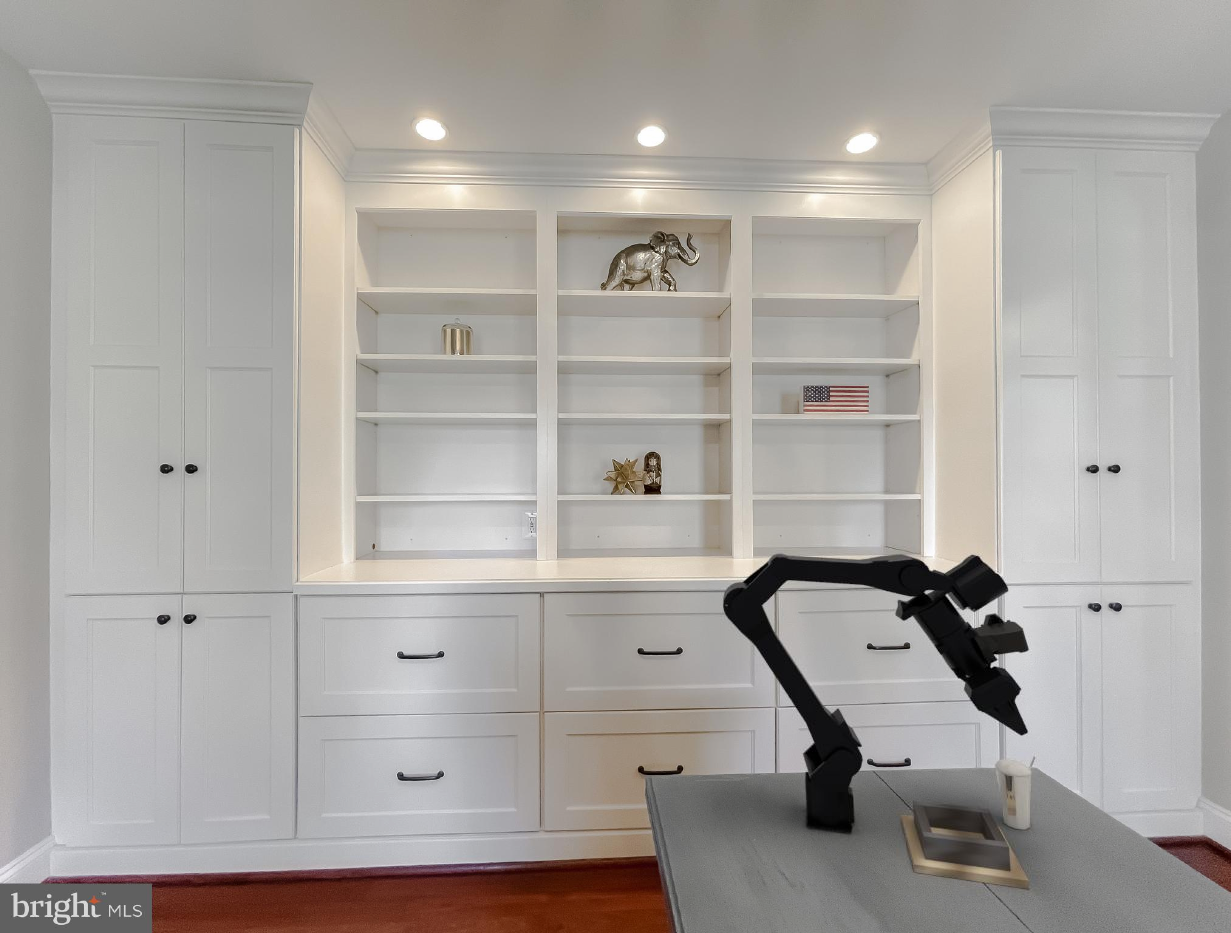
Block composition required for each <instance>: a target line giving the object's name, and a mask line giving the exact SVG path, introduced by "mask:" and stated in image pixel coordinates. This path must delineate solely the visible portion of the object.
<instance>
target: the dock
mask: <svg viewBox="0 0 1231 933" xmlns="http://www.w3.org/2000/svg"><path fill="white" fill-rule="evenodd" d="M912 814H913V815H908V814H902V813H901V814H900V822H901V825H902V830H903V833H904V836H905V841H906V844H907V848H908V852H909V856H910V859H911V864H912V868H913V872H914V873H916V874H917V873H919V874H925V875H931V876H937V877H938V876H939V877H945V878H951V879H952V878H953V879H959V880H965V881H972V882H977V883H978V882H979V883H985V884H991V885H1000V886H1007V887H1013V888H1020V889H1026V890H1030V881H1029V879H1028V876H1027V875H1026V873H1025V871H1024V870H1023V868H1022V866H1021V864H1020V862H1019V860H1018V859H1017V857H1016V854H1015V853H1014V851H1013V849H1012V847H1011V846H1010V844H1009V842H1008V840H1007V838H1006V837H1005V835H1004V833H1003V831H1002V830H1001V828H1000V826H999V825H998V824H997V823H996V820H995V819H994V818H995V817H993V815H992V813H991V811H990V809H989V808H983V807H982V808H981V807H975V806H974V807H972V806H967V805H966V806H965V805H964V806H963V805H956V804H946V803H941V802H939V803H938V802H930V801H924V800H923V801H921V800H912Z"/></svg>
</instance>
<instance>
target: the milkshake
mask: <svg viewBox="0 0 1231 933" xmlns="http://www.w3.org/2000/svg"><path fill="white" fill-rule="evenodd" d="M1035 759H1036V756H1034V755H1033V757H1032V760H1031V762H1030V765H1029V766H1028V765H1027V764H1025V763H1023V762H1022V761H1018V760H1016V759H1012V758H1001V759H999V760H998V761H996V762H995V764H994V767H995V768H994V769H995V773H996V779H997V785H998V788H999V789H998V790H999V794H1000V803H1001V810H1002V817H1003V823H1004V824H1005V825H1007V826H1008V827H1009V828H1013V829H1016V830H1024V831H1025V830H1027V829H1030V826H1031V822H1030V819H1031V818H1030V816H1031V788H1032V786H1031V784H1032V767H1033V765H1034V762H1035V761H1036V760H1035Z"/></svg>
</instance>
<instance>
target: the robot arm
mask: <svg viewBox="0 0 1231 933" xmlns="http://www.w3.org/2000/svg"><path fill="white" fill-rule="evenodd" d="M788 581H791V582H792V581H793V582H794V581H795V582H809V583H825V584H838V585H839V584H842V585H857V586H866V587H870V588H874V589H877V590H881V591H885V592H889V593H893V594H898V595H902V596H906V597H912V598H909V599H908V600H901V599H897V601H896V602H897V607H896V611H895V613H894V614H895V616H896V617H898V619H900V620H901V621H904V622H905V621H907V620H909V619H911V617H913V618H914V620H915V621H916V623H917V624H918V626H920V628H921V629H922V631H923V632H924V634H925V635H926V636H927V638H928V639H929V641H930V642H931V643H932V644H933V646H934V648H935V649H936V650H937V652H938V654H940V655H941V657H942V659H943V660H944V661H945V663H946V665H947V666H948V668H950V670H951V671H952V672H953V674H954V675H955V676H956V677H957V679H960V680H961V681H962V682H963V683H964V688H963V691H964V692H965V694H966V695H967V697H968V698H969V700H970V701H971V702H972V704H973V706H974V707H975V708H976V709H977V711H979V712H981V713H983V714H986V715H987V716H989V717H991V718H992V719H993V720H996V721H997V722H999V723H1001V724H1002V725H1003V726H1005V727H1007V728H1009V729H1010V730H1011V731H1013V732H1014V733H1016V734H1018V735H1020V736H1025V735H1026V734H1028V733H1029V731H1028V727H1027V726H1026V724H1025V721H1024V719H1023V717H1022V715H1021V712H1020V710H1019V708H1018V706H1017V703H1016V699H1017V697H1018V696H1019V695H1020V693H1021V691H1022V688H1021V686H1020V685H1019V683H1018V682H1016V680H1015V679H1014V677H1013V676H1012V674H1010V673H1009V671H1008V670H1006V668H1005V667H1000V666H995V665H994V666H993V667H991V666H992V664H993V663H995V662H997V661H998V658H997V657H996V655H998V656H1000V655H1005V654H1014V653H1020V654H1022V653H1027V652H1028V651H1029V645H1028V642H1027V639H1026V635H1025V631H1024V628H1023V627H1022V626H1020V624H1018V623H1017V622H1016V621H1012V620H1010V619H1007V620H1006V621H1004V619H1002V617H1000V615H999V614H997V613H990V614H985V617H984V620H983V624H980V626H979V627H973V626H972V625H971V624H970V622H969V621H966V620H965V619H964V618H963V615H961V614H960V612H959V611H958V610H957V608H956V607H955V605H956V606H957V607H958V608H959V609H960V610H962V611H964V610H966V609H969V610H970V611H971V612H973V613H975V612H977V611H978V610H981V609H982V608H984V607H985V606H987V605H989V604H990V603H992V602H993V601H995V600H997V599H998V598H1000V597H1002V596H1004V595H1005V594H1006V593H1008V592H1009V586H1008V584H1006V581H1005V580H1004V578H1003V577H1002V576H1001V575H1000V574H999V573H997V572H996V571H995V570H994V569H993V568H992V567H991V566H990V565H988V564H987V563H986V562H984V561H983V559H981V557H980V555H976V554H970V555H969V556H967V557H965V559H963V561H961V562H959V564H957V565H956V566H954V567H952V568H950V569H949V570H948V571H946V572H942V571H939V570H936V569H932V570H930V568H929V566H928V565H927V564H926V563H925V562H924V561H923V560H920V558H916V557H913V556H910V555H906V554H902V553H901V554H900V553H899V554H898V553H897V554H889V555H880V556H874V557H868V558H862V559H861V558H859V559H856V558H855V559H854V558H837V557H822V556H821V557H820V556H806V555H805V556H800V555H788V554H784V553H776V554H775V553H774V554H773V555H771V557H769V559H768V560H767V561H766V562H765V563H764V564H763V565H762V566H760V567H759V568H758V569H756V570H755V571H754V572H752V573H751V574H749V575H748V576H747V577H746V579H744V580H743V581H742V582H741V581H740V582H739V581H738V582H734V583H732V584H730V585H729V586H727V587H726V590H725V591H724V594H723V598H722V599H723V600H722V602H723V603H722V606H723V612H724V615H725V616H726V618H727V619H728V621H730V623H731V624H732V625H734V626H735V628H736V629H737V630H738V631H739V632H740V633H741V634H742V635H743V636H744V637H745V638H747V639H748V641H749V642H750V643H752V644H753V646H754V647H755V648H756V649H757V651H758V652H759V654H760V655H761V657H762V658H763V659H764V661H765V663H766V664H767V666H768V668H769V669H770V671H771V672H772V674H773V675H774V677H775V679H776V680H777V681H778V683H779V684H780V686H781V688H782V689H783V690H784V693H786V695H787V697H788V698H789V699H790V700H789V701H791V703H792V704H793V706H794V707H795V708H796V710H797V712H798V713H799V715H800V716H801V718H802V719H803V721H804V722H805V724H806V727H807V728H808V732H809V734H810V736H811V739H812V740H813V743H812V744H811V745H810V746H809V747H808V748H807V749H806V750H805V751H804V752H803V753H802V757H803V759H804V762H805V765H806V766H805V767H806V770H807V771H805V774H804V775H805V776H804V777H805V778H804V779H805V780H804V782H805V783H804V784H805V786H804V787H805V803H806V804H805V807H806V808H805V827H807V828H810V829H818V830H825V831H832V832H839V833H849V834H851V833H852V832H853V825H852V824H854V823H855V802H854V800H855V799H854V791H853V790H854V789H853V788H852V787H850V786H851V782H852V780H853V777H854V776H856V774H858V773H859V772H860V770H861V768H862V765H863V762H864V759H863V755H862V753H861V750H860V748H862V746H863V745H862V743H861V741H860V739H859V738H858V736H857V734H856V731H855V730H854V729H853V728H854V727H853V728H852V727H851V726H850V725H849V724H848V723H847V721H846V719H845V717H844V715H843V714H842V712H841V710H840V708H836V709H835V710H834V711H832V712H831V711H830V710H829V709H828V708H827V707H826V706H825V705H824V704H823V703H822V701H821V700H820V698H819V697H818V696H817V694H816V692H815V691H814V689H813V688H812V686H811V685H810V684H809V683H810V682H808V680H807V678H806V677H805V676H804V674H803V672H802V671H801V669H800V668H799V667H798V665H797V664H796V661H794V659H793V658H792V656H791V654H790V653H789V652H788V650H787V649H786V647H785V646H784V644H783V642H782V641H781V640H780V638H779V636H778V634H776V632H775V630H774V628H773V626H772V624H771V622H770V619H769V617H768V614H767V612H766V610H765V608H764V605H765V604H766V602H768V601H769V600H770V599H771V598H772V597H773V596H774V595H775V594H776V593H777V591H778V590H779V589H780V588H782V586H783V585H784V584H785V583H787V582H788ZM927 591H931V592H929V593H926V592H927ZM947 595H948V596H947ZM948 597H949V598H948ZM950 599H951V600H950ZM951 601H952V602H953V603H954V604H955V605H954V604H953V603H952V602H951Z"/></svg>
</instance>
